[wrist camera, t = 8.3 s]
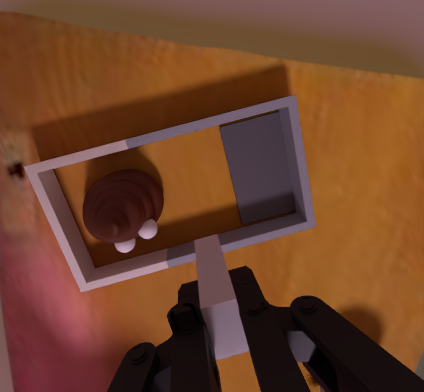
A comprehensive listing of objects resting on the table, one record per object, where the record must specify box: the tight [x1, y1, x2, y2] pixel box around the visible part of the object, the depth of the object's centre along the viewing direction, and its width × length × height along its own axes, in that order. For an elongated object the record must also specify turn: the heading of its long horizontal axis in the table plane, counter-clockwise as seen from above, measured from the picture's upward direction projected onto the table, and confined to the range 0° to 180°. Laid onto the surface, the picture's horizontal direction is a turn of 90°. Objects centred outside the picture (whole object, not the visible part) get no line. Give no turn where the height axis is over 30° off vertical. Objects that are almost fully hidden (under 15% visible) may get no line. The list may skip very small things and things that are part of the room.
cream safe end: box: [24, 138, 168, 292], centre depth 33 cm, size 11×16×4 cm
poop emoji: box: [83, 170, 164, 253], centre depth 30 cm, size 10×9×9 cm
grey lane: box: [125, 95, 316, 268], centre depth 33 cm, size 19×16×4 cm
